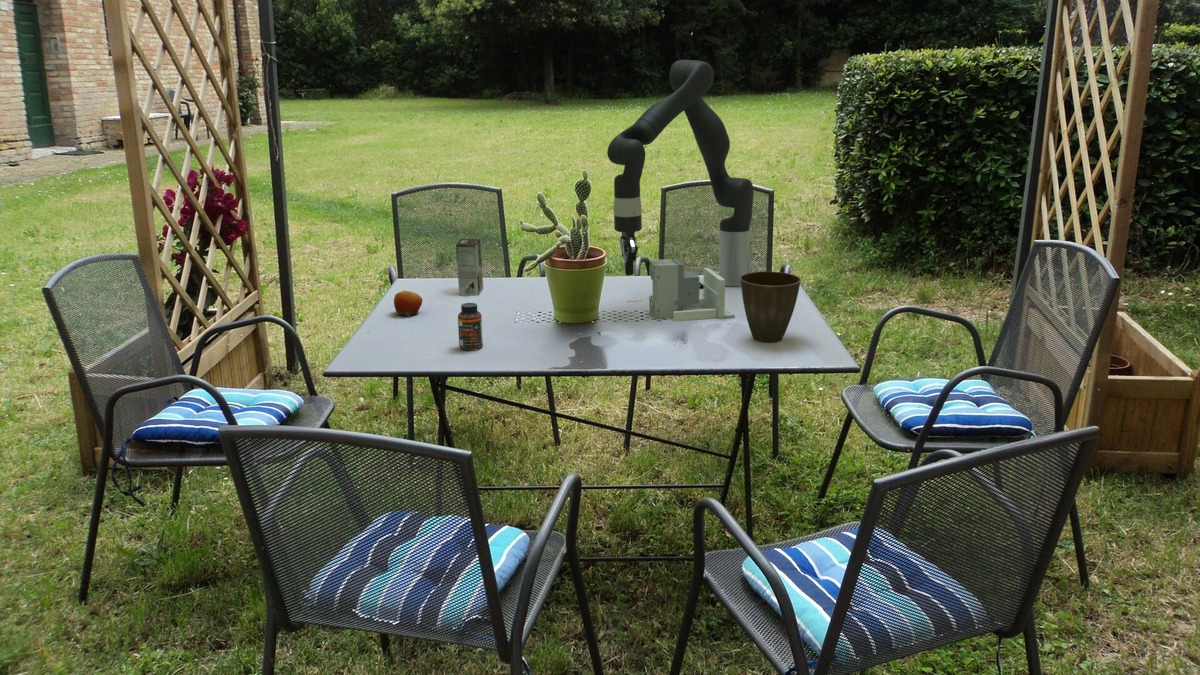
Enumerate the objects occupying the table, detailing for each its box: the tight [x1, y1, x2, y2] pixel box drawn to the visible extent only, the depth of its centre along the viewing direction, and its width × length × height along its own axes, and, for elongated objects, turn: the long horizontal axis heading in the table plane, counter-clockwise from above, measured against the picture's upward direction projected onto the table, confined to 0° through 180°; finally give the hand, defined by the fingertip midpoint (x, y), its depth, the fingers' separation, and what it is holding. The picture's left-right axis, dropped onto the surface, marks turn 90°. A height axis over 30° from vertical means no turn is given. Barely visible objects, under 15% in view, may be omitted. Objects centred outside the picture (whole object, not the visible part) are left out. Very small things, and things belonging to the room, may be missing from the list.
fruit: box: [393, 290, 423, 318], centre depth 264 cm, size 8×8×8 cm
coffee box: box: [455, 238, 484, 297], centre depth 286 cm, size 9×6×16 cm
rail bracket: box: [672, 267, 735, 322], centre depth 260 cm, size 17×15×11 cm
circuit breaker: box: [648, 258, 704, 320], centre depth 259 cm, size 8×14×15 cm, turn 99°
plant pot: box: [740, 270, 802, 344], centre depth 234 cm, size 15×15×16 cm
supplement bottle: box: [457, 302, 484, 351], centre depth 233 cm, size 6×6×11 cm
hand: (629, 274), depth 257 cm, fingers closed
